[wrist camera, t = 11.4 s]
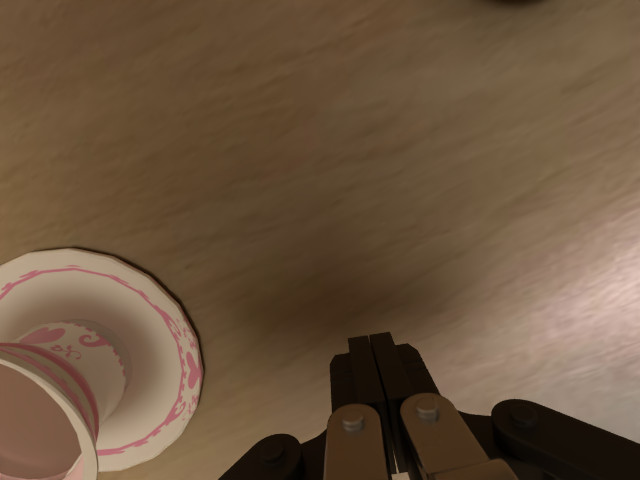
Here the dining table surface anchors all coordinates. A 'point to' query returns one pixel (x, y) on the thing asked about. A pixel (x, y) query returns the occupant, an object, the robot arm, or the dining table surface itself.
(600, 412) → the dining table surface
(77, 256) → the teacup
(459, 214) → the dining table surface
